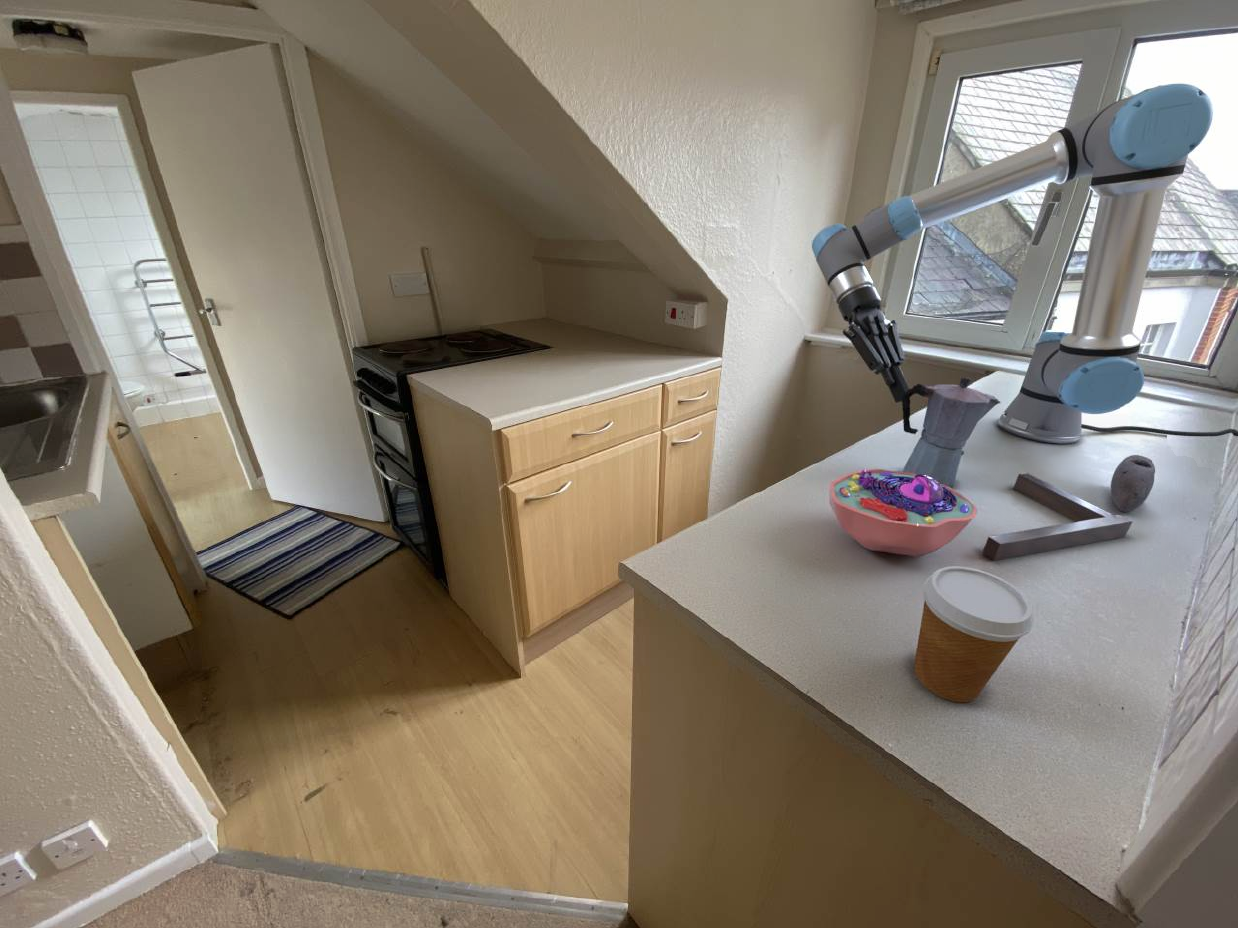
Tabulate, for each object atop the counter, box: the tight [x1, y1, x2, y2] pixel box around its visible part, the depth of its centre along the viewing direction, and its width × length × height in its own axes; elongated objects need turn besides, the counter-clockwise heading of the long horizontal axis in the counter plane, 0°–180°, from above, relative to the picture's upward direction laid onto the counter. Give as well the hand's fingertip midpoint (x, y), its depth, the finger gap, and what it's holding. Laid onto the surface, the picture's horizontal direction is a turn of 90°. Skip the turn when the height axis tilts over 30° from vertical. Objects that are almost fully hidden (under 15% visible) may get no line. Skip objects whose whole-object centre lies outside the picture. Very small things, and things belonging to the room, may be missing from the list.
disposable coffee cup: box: [913, 565, 1034, 703], centre depth 55 cm, size 10×10×12 cm
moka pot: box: [901, 377, 1002, 488], centre depth 96 cm, size 10×15×20 cm, turn 78°
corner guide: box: [981, 472, 1133, 562], centre depth 87 cm, size 26×17×3 cm, turn 105°
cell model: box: [828, 468, 978, 557], centre depth 79 cm, size 17×20×11 cm
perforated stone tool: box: [1110, 454, 1156, 513], centre depth 92 cm, size 15×5×7 cm, turn 135°
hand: (903, 399), depth 102 cm, fingers closed
